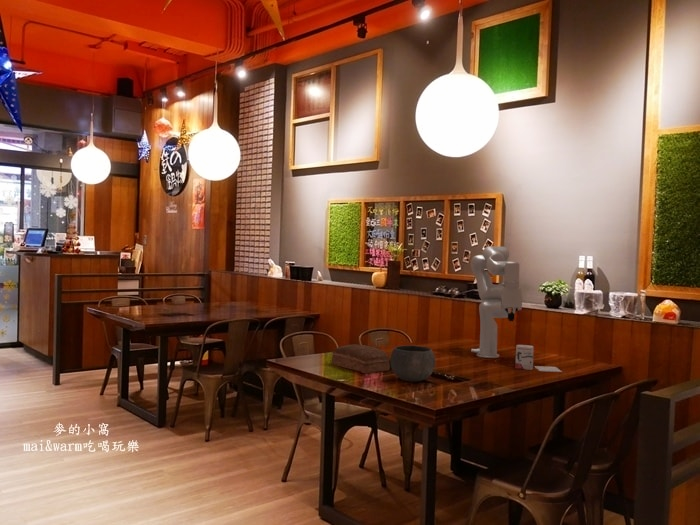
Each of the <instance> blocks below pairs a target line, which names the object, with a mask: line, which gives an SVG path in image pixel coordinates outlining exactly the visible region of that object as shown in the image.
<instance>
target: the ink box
mask: <svg viewBox="0 0 700 525" xmlns="http://www.w3.org/2000/svg"><path fill="white" fill-rule="evenodd" d="M515 349H516V350H515V369H516V370H517V369H518V370H528V371H529V370H530V371H533V369H534V368H533V367H534V350H535V349H534V346H533V345H527V344H516V347H515Z"/></svg>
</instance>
